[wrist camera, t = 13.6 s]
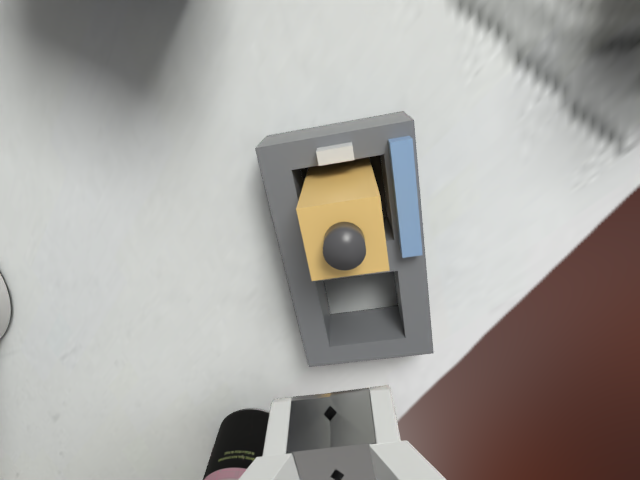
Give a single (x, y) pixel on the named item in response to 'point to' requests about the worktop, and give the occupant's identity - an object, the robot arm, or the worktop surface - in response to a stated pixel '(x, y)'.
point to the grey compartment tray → (400, 232)
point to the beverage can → (237, 444)
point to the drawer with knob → (342, 220)
